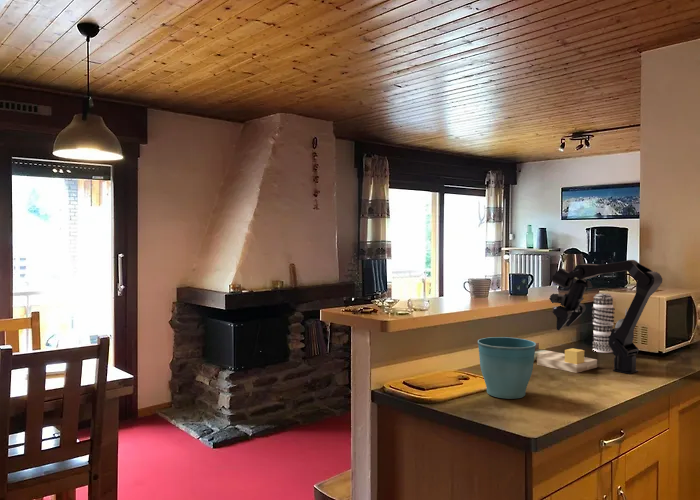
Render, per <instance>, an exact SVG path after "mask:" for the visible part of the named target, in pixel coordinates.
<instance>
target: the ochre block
mask: <svg viewBox="0 0 700 500" xmlns="http://www.w3.org/2000/svg"><path fill="white" fill-rule="evenodd" d="M564 354H565V362H568V363H574V364H579V363H583V362H584V357H585V350H583V349H579V348H573V347H572V348H568V349H564Z"/></svg>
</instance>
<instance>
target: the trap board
mask: <svg viewBox="0 0 700 500" xmlns="http://www.w3.org/2000/svg"><path fill="white" fill-rule="evenodd" d="M535 343H536V347H535V354H534V362H535V361H536V365H537V366H543V367H547V368H551V369H557V370H560V371H561V370H562V371H565V372H571V373H576V374H577V373H581V372H585V371H589V370H592V369H596V368H598V359H596V358H591V357H587V356H586V357H585V356H584V362H583V363H579V364H574V363H568V362H565V353H563V352H557V351H551V350H546V349H541V348H540V345H539V344H540V343H539V342H535Z"/></svg>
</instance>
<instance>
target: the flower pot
mask: <svg viewBox="0 0 700 500" xmlns="http://www.w3.org/2000/svg"><path fill="white" fill-rule="evenodd" d="M536 343H537V342H536V341H532V340H529V339H524V338H520V337H519V338H517V337H506V336H495V337H494V336H492V337H484V338H479V339H477V344H478V345H477V346H478V357H479V366H480V370H481V374H482V377H483V379H484V383H485V387H486V393H487V394H488V395H489V396H492V397H495V398H499V399H507V400H508V399H509V400H510V399H511V400H513V399H514V400H516V399H521V398H524V397H525V396H526V392H527V387H528V385H529V381H530V379H531V377H532V374H533V369H534V363H535V361H534V354H535V347H536Z"/></svg>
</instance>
